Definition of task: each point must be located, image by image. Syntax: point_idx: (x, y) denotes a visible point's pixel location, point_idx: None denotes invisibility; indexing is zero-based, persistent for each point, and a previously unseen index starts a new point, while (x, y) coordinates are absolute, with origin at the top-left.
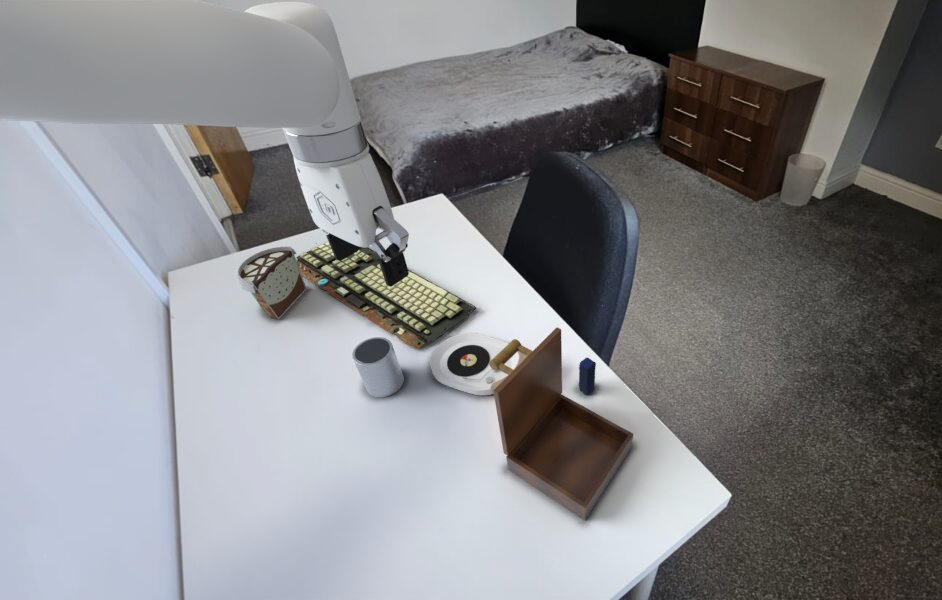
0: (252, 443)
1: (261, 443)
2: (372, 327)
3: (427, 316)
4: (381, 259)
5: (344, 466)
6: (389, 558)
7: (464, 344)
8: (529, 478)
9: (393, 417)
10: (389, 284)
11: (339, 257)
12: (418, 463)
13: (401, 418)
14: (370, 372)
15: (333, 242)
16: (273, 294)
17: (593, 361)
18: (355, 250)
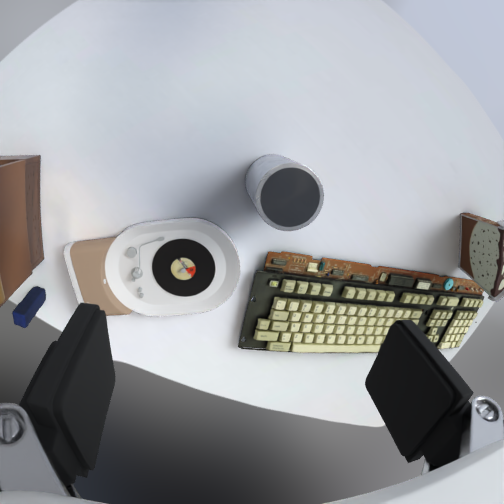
0: (358, 43)
1: (349, 45)
2: (358, 256)
3: (289, 305)
4: (46, 416)
5: (224, 52)
6: (98, 11)
7: (210, 289)
8: (8, 157)
9: (217, 137)
10: (77, 309)
11: (399, 332)
12: (135, 99)
13: (205, 141)
14: (271, 164)
15: (437, 380)
16: (481, 235)
17: (16, 324)
18: (370, 379)
